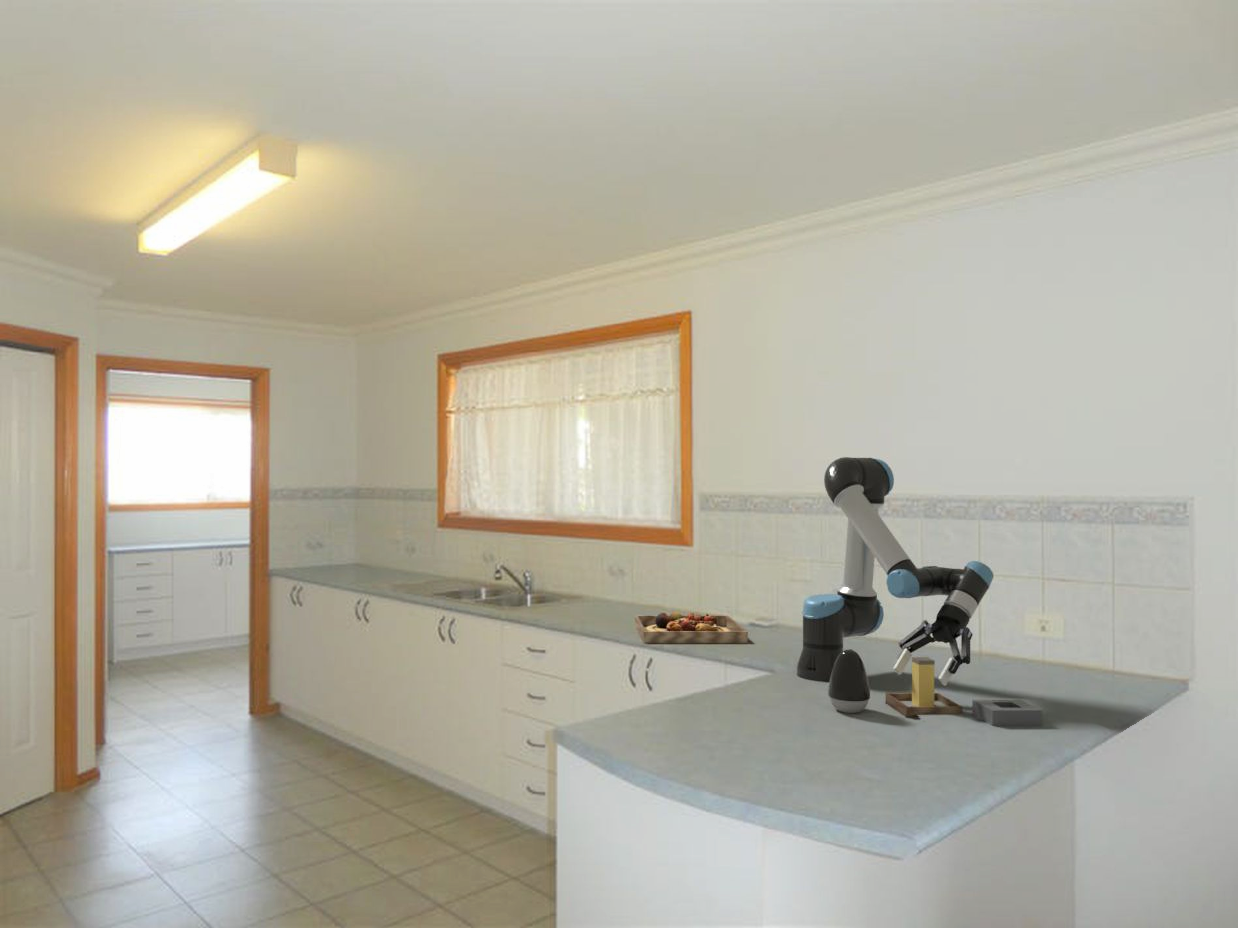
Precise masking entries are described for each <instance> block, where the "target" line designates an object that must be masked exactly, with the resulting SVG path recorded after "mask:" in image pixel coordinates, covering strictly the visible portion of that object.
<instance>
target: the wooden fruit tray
mask: <svg viewBox="0 0 1238 928" xmlns="http://www.w3.org/2000/svg"><path fill="white" fill-rule="evenodd" d="M658 615H659V614H657V615H655V614H654V615H652V614H651V615H649V614H646V615H640V614H638V615H635V616H634V627H635V629H636V630H637V633H638V635H639V637H640V639H641V642H642V643H643V644H748V643H749V633H748V632H749V631H748V630H746V628H744V627H743V626H742V625H741V624H740V623H738V622H737V621H736V620H734V619H733V618H732V617H731V616H730V615H713V616H714V617H715V618H716V619H717V623H716V625H717V626H720V627H727V629H729V630H730V631H646V630H645V629H646V627H648V626H651V625H656V623H655V620H656V617H657V616H658ZM667 615H668V616H669V615H670V614H667ZM681 615H682V614H681ZM687 615H688V614H687ZM687 615H685V614H684V615H682V616H683V618H686V617H687ZM694 615H695V614H694ZM696 615H697V614H696ZM696 615H695V616H696ZM699 615H700V614H699ZM708 615H709V614H708ZM703 616H705V617H706V614H705V615H700V617H703ZM709 616H711V615H709ZM702 621H703V620H702Z"/></svg>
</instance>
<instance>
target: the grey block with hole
mask: <svg viewBox="0 0 1238 928" xmlns="http://www.w3.org/2000/svg"><path fill="white" fill-rule="evenodd" d="M971 709H972V712H971V714H972V715H973V716H975V717H977V718H978V719H980V720H982V721H983V722H985V723H987V724H988V725H990V726H992V727H995V726H996V727H1004V726H1005V727H1009V726H1010V727H1014V726H1015V727H1016V726H1017V727H1021V726H1022V727H1023V726H1028V727H1029V726H1032V727H1033V726H1035V727H1036V726H1043V709H1040V708H1039V707H1036V706H1034V705H1032V704H1030V703H1029V702H1026V701H1024V700H1022V699H972V707H971Z"/></svg>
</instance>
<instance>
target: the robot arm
mask: <svg viewBox="0 0 1238 928" xmlns="http://www.w3.org/2000/svg"><path fill="white" fill-rule="evenodd" d="M823 479H824V481H823V482H824V487H825V491H826V494H827V496H828V497H829V499H830V501H831V502H832V503H833V505H834V506H835V508H839V509H841V511H842V512H843V513H844V515H845V516H846V518H847V528H846V529H847V530H846V542H845V544H846V545H845V556H844V557H845V559H844V568H843V569H844V570H843V581H842V583H843V584H841V586H840V587H838V589H837V594H836V593H835V594H834V593H824V594H820V593H819V594H815V595H814V594H813V595H811V596H808V597H807V598H806V599H804V601H803V605H802V606H803V608H802V650H801V652H800V656H799V659H798V662H797V664H796V676H799V677H801V678H804V679H808V680H815V681H827V682H830V677H831V673H832V669H833V666H834V663H835V661H836V659H837V657H838V655H839V654H840V653H841V652H842V651H844V638H850V637H857V636H858V637H863V636H864V637H865V636H868V635H870V634H873V633H876V631H877V630H878V629H879V628H881V625H882V624H883V621H884V616H885V615H884V608H883V606H882V605H881V604H882V603H881V601H880V600H879V599H878V592H877V591H876V590H875V589H874V588H873V585H874V584H873V581H874V571H875V559H876V561H877V563H878V564H879V566H880V567H881V568H882V569H883V571H884V573H885V574H886V575H887V576H886V577H887V578H886V586H887V591H888V592H889V594H891V596H893V597H895V598H898V599H913V598H919V597H933V596H947V597H946V599H945V600H944V602H943V604H942V606H941V607H940V609H939V611H938V612H937V615H936V618H935V621H934V622H933V623H931V622H928V620H927V619H924V620H922V622H921V623H920V625H919V626H918V627H917V628H915V629H914V630H912V631H911V632H910V633H908V634H907V635H906V636H905V637H904V638H902V639H901V640H900V641H899V642H898V643H897V644H898V646H899V647H900V648H899V649H901V651H900V653H899V654H898V656H897V658H896V659H897V661H896V663H895V665H894V666H893V667H892V668H893V670H894V671H895V672H896V674H897V676H901V675H902V673H903V671H904V670H905V668H906V667H907V665H908V664H909V662H910V659H912V657H913V655H912V653H913V652H916V651H917V650H919V649H921V648H922V647H924V646H926V645H929V644H930V643H932V644H933V643H935V642H938V643H941V642H942V643H944V644H948V643H949V646H950V649H951V653H952V657H949V659H948V660H947V662H946V664H945V666H944V668H943V669H942V671H941V672H940V674H939V676H938V681H939V682H940V683H941V684H942V686H945V687H946V686H947V685H948V683H949V681H950V679H951V678H952V675H955V674H956V673H957V671H958V669H959V668H960V666H962V664H966V665H969V664H971V640H972V638H973V632H972V631H971V629H970V628H969V627H967V626H968V625H969V623H970V620H971V618H972V617H973V615H974V614H975V611H976V610H977V609H978V606H979V605H980V603H981V601H982V599H983V598H984V596H985V595H986V594H987V592H988V590H990V586H991V584H992V582H993V579H994V573H993V570H992V569H991V568H990V567H989V566H988V565H986V564H985V563H983V562H981V561H979V560H978V561H976V560H971V561H968V563H967V564H966V565H965V566H964V568H951V567H944V566H943V567H942V566H937V565H933V566H932V565H929V566H928V565H926V566H922V567H921V568H919V567H918V568H917V566H916V565H915V563H914V562H913V561H912V559H911V558H910V557H909V556H908V554H907V552H906V551H905V550H904V548H903V547H902V545H901V544H900V542H899V541H898V540H897V538H896V537H895V535H893V533H892V531H891V530H890V529H889V527H888V526H887V524H886V523H885V522H884V520H883V519H882V517H881V516H880V515H879V510H880V508H881V507H882V506H884V504H885V497H886V496H887V495H889V494H890V492H891V491H892V490H893V487H894V483H895V478H894V473H893V471H892V468H891V467H890V466H889V464H887V462H885V461H884V460H882V459H880V458H879V459H878V458H872V457H850V456H847V457H846V456H843V457H840V458H838V459H837V458H836V459H835V460H833V461H832V462H831V463H830V464H829V465H828V466H827V468H826V470H825V472H824V478H823ZM931 635H932V636H931ZM959 637H961V639H960V640H961V641H960V642H961V643H960V644H961V645H960V647H961V649H960V648H959V647H958V642H957V638H959ZM960 650H961V652H960Z"/></svg>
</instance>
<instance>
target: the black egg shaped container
mask: <svg viewBox="0 0 1238 928" xmlns="http://www.w3.org/2000/svg"><path fill="white" fill-rule="evenodd" d="M868 677H869V676H868V675H867V670H866V667H865V664H864V662H863V660H862V657H861V656H860V654H859V653H858V652H857V651H855V650H853V649H843V651H842V652H841V653H840V654H839V655H838V657H837V659H836V661H835V663H834V666H833V669H832V673H831V677H830V681H828V682H829V683H828V688H827V689H828V690H827V695H828V697H829V700H830V704H831V705H832V706H833V708H835V709H836V710H837V711H839V712H842V713H847V714H857V713H860V712H862V711H864V710H865V709H866V708H867V706H868V704H869V700H870V698H871V689H870V683H869V678H868Z"/></svg>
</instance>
